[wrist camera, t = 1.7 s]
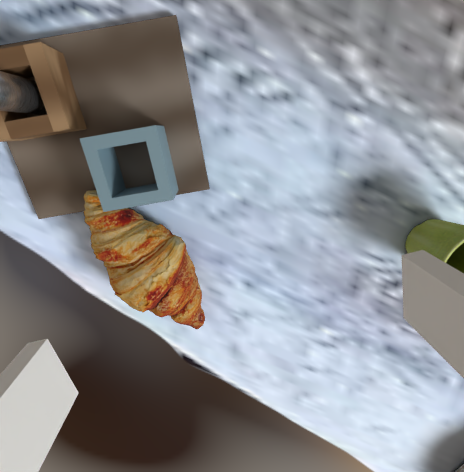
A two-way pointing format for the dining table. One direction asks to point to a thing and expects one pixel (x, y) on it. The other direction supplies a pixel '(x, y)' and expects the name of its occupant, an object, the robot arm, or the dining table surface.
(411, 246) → the plant pot
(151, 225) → the croissant
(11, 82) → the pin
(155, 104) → the board
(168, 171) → the socket
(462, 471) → the olive toy tank
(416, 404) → the dining table surface
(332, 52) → the dining table surface
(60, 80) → the mount
